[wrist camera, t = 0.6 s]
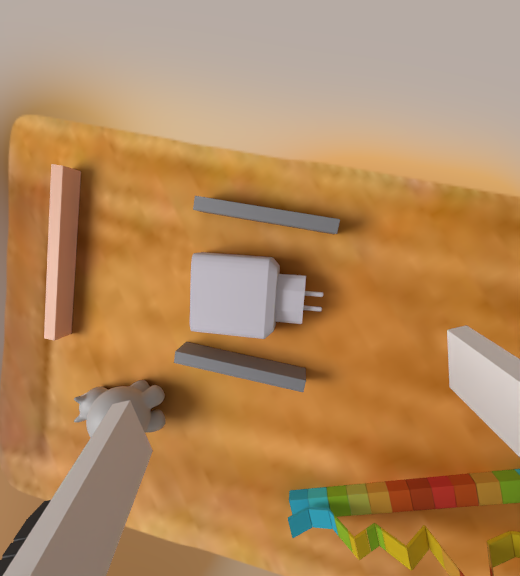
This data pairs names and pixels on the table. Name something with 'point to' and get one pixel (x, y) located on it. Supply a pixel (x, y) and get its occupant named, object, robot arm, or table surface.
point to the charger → (244, 295)
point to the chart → (407, 497)
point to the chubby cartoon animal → (138, 393)
